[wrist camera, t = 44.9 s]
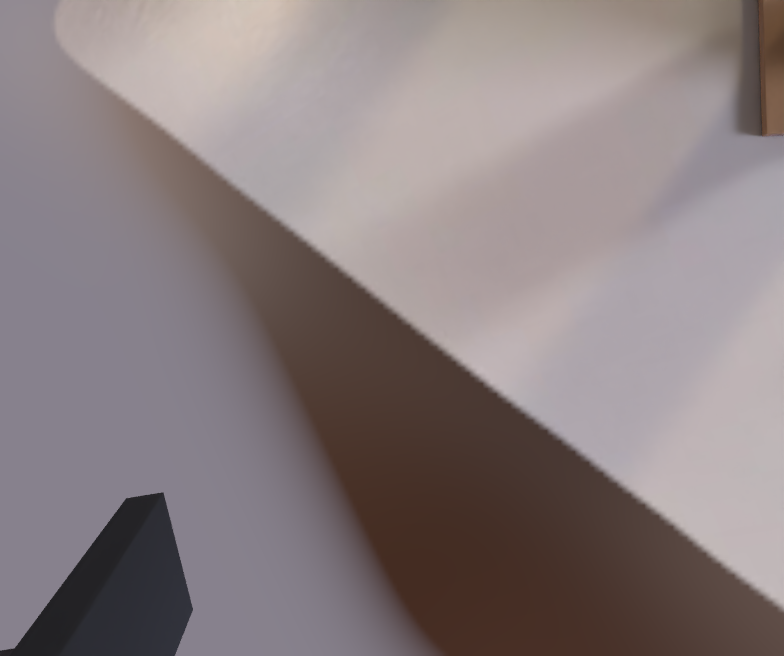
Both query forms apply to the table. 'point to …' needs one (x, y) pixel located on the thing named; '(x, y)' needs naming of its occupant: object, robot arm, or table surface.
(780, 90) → the cork mat
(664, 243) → the table surface
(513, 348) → the table surface
